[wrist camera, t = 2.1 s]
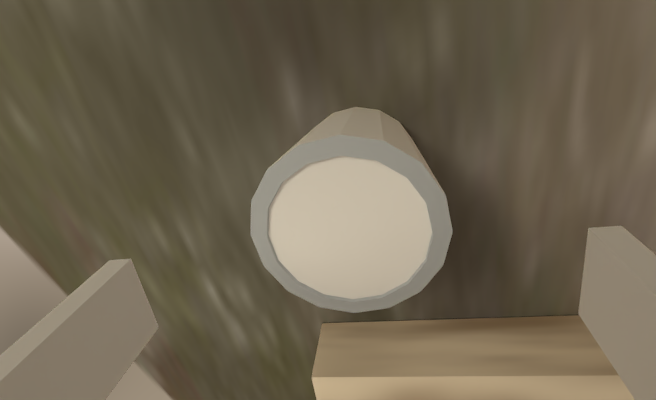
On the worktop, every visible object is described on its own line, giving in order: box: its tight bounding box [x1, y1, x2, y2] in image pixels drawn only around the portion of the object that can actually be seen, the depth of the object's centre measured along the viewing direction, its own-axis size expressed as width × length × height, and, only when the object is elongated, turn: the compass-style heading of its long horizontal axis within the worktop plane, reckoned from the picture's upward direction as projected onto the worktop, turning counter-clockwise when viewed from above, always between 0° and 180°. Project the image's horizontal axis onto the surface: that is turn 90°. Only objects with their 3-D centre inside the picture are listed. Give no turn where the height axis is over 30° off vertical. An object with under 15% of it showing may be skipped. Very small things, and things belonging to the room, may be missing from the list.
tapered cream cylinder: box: [251, 107, 453, 313], centre depth 16 cm, size 7×7×7 cm
